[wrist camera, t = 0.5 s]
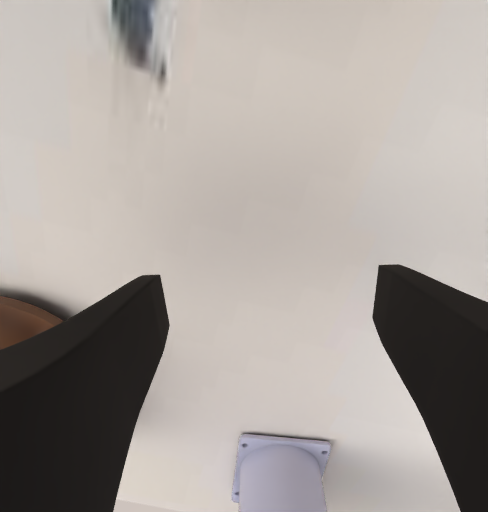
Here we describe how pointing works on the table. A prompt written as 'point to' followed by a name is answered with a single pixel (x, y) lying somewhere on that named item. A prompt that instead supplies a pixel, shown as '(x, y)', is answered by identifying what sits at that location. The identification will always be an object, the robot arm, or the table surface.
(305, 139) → the table surface
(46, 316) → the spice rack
